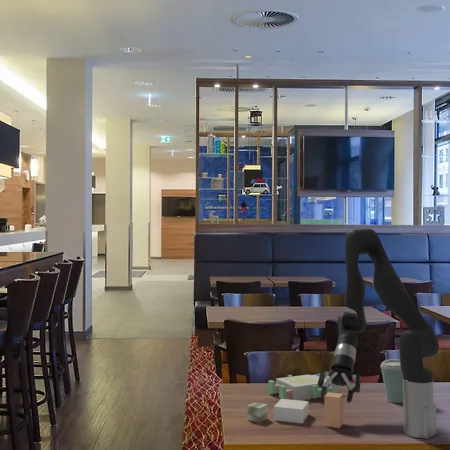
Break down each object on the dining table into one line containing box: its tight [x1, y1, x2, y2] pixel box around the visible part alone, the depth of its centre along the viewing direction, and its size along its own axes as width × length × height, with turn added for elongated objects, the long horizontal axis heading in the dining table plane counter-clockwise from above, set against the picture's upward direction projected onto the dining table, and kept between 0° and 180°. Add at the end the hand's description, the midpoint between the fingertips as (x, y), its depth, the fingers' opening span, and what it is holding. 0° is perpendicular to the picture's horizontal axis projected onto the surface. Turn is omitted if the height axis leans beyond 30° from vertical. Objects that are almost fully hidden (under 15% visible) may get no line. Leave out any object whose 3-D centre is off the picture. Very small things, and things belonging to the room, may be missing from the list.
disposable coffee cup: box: [380, 358, 403, 404], centre depth 221 cm, size 11×11×15 cm
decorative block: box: [267, 373, 340, 401], centre depth 231 cm, size 26×6×20 cm
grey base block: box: [273, 398, 310, 424], centre depth 201 cm, size 10×10×5 cm
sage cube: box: [246, 402, 268, 423], centre depth 199 cm, size 5×5×5 cm
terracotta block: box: [324, 392, 344, 429], centre depth 193 cm, size 5×5×10 cm
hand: (335, 400), depth 196 cm, fingers open, 8 cm apart
